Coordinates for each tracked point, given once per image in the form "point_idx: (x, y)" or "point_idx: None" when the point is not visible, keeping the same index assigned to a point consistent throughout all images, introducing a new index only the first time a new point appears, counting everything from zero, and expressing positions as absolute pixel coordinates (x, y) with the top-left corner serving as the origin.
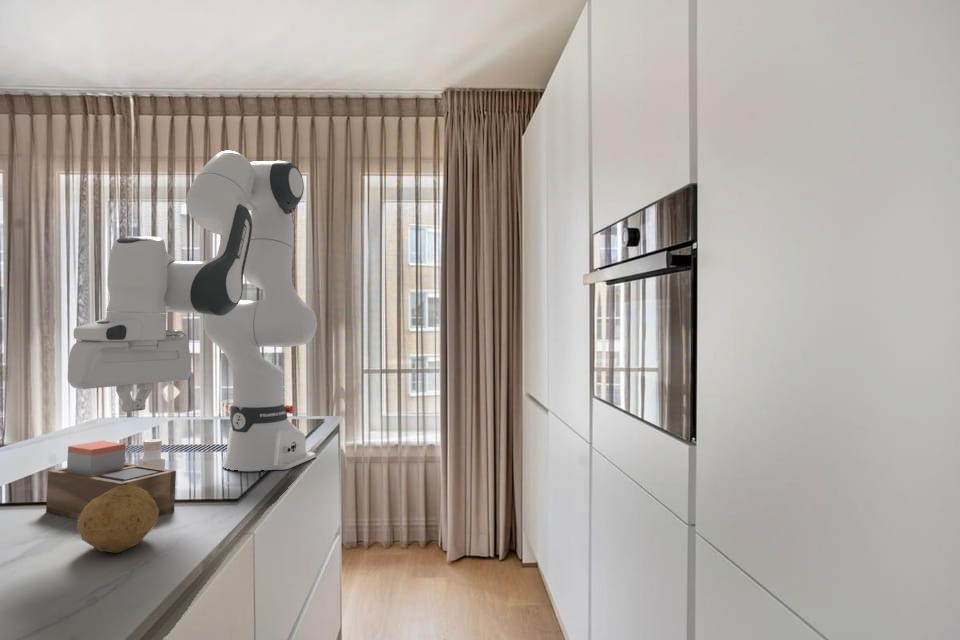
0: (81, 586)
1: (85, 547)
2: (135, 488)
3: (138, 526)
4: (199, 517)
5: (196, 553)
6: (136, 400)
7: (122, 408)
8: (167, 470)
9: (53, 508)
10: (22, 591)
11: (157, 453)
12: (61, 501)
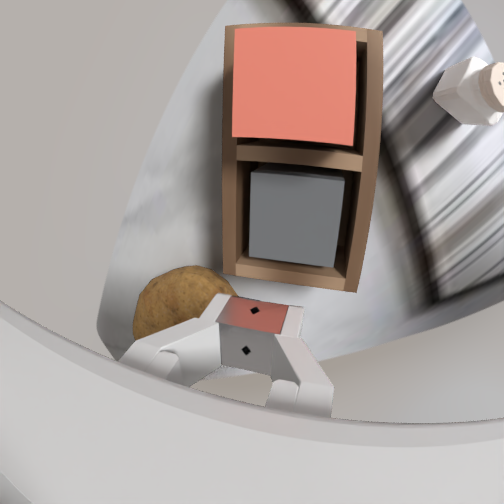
0: None
1: (181, 259)
2: None
3: None
4: (336, 309)
5: (229, 370)
6: (250, 359)
7: (215, 295)
8: (352, 274)
9: None
10: (110, 294)
11: (492, 110)
12: None
